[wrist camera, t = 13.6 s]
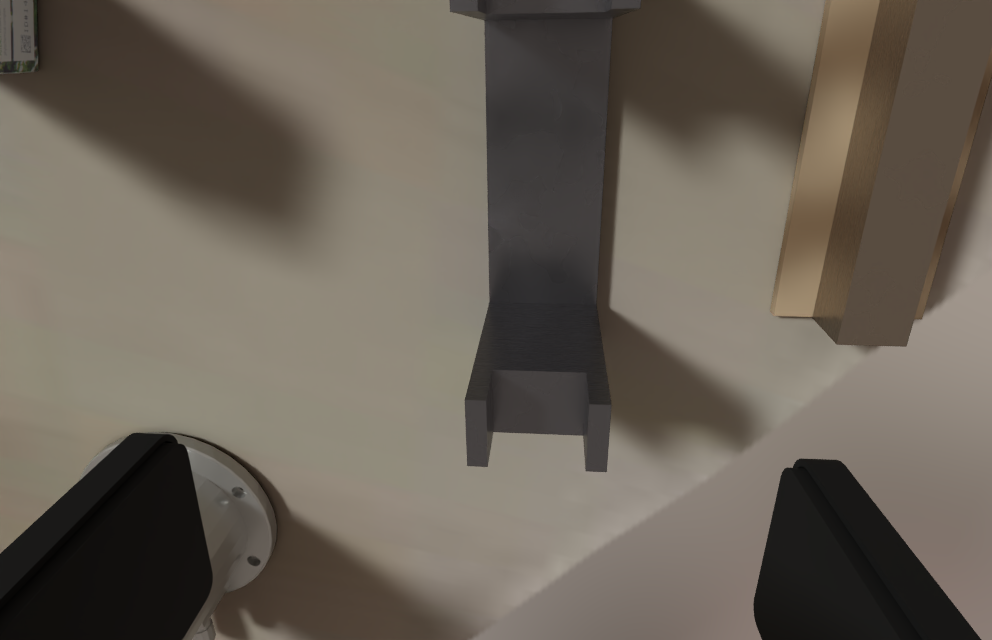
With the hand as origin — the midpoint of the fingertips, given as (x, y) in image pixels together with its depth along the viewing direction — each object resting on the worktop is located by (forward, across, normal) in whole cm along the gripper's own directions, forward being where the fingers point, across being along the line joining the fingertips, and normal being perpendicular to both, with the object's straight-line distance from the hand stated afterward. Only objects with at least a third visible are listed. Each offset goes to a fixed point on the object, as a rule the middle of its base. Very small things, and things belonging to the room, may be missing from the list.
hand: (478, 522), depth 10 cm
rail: (+21, -16, -6) cm, 27 cm away
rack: (+23, -1, -2) cm, 23 cm away
